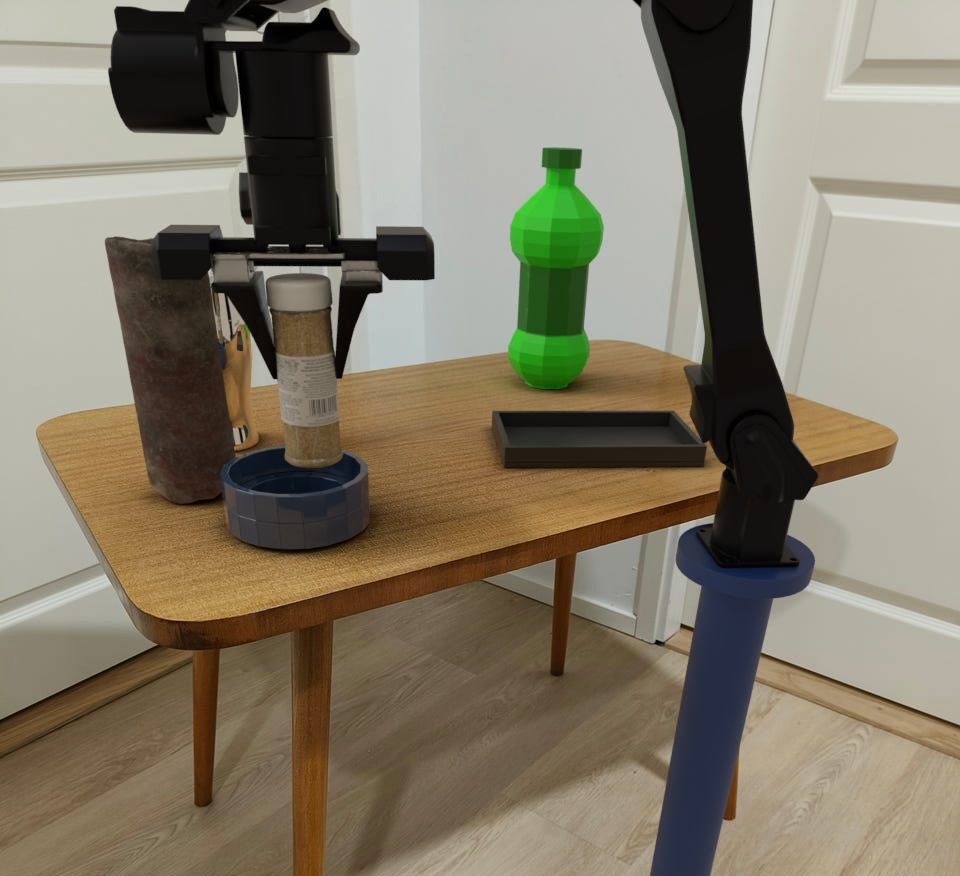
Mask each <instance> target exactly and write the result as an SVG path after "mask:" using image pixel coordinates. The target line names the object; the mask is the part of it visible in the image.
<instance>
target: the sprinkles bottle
mask: <svg viewBox="0 0 960 876" xmlns="http://www.w3.org/2000/svg"><path fill="white" fill-rule="evenodd" d="M332 291H333V290H332V281H331V279H330V278H329V277H328V276H326V275H324V274H320V273H310V272H292V273H282V274H276V275H272V276H270V277H268V278H266V280H265V292H266V299H267V304H268V309H269V314H270V316H271V324H272V328H273V336H274V345H275V357H276V364H277V379H276V381H277V392H278V399H279V400H278V401H279V410H280V418H281V422H282V429H283V438H284V446H285V449H286V452H285V460H286V461H287V462H288V463H290V464H291V465H293V466H296V467H302V468H323V467H328V466H330V465H333V464H335V463H337V462H339V461H340V460H341V459H342V457H343V452H342V450H343V449H342V446H341V432H340V405H339V394H338V393H339V392H338V391H339V390H338V379H337V377H336V366H335V354H336V350H335V347H334V338H333V326H332V325H333V324H332V310H333V308H332V305H333V292H332Z"/></svg>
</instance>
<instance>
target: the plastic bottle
mask: <svg viewBox="0 0 960 876" xmlns="http://www.w3.org/2000/svg"><path fill="white" fill-rule="evenodd" d="M541 152H542V153H541V168H544V169H545V168H546V169H545V170H546V171H545V184H544V185H542V186H541V187H540V188H539V189H538V190H537V191H536V192H535V193H533V194H532V195H531V196H530V197H529V198H528V199H527V200H526V201H525V202H524V203H523V204H522V205H521V206H520V207H519V208H518V209H517V210H516V212H514V214H513V218H512V220H511V223H510V227H509V241H510V250H511V252H512V254H514V256H515V257H516V259H517V260H518V261H519V282H518V285H519V286H518V304H517V321H516V322H517V325H516V329H515V330H514V333H513V334H512V336H511V339H510V341H509V343H508V345H507V346H508V347H507V358H508V361H509V364H510V366H511V368H512V369H513V371H514V373H516V375H518V376H519V377H520V379H522V380H523V381H525V384H526V385H527V386H529V387H530V388H536V389H540V390H559V389H564V388H567V387H568V385H569V384H571V383H572V382H573V381H574V380H576V379H577V378H578V377H579V376H580V375H581V374H582V373H583V371H584V368H585V366H586V364H587V362H588V360H589V358H590V351H591V344H590V341H589V338H588V334H587V332H586V329H585V320H586V319H585V317H586V305H587V297H588V295H587V294H588V284H589V271H590V270H589V269H590V264H591V262H592V261H594V260H595V259H596V257H597V256H598V255H599V253H600V250H601V247H602V243H603V239H604V231H605V229H604V228H605V227H604V223H603V219H602V214H601V213H600V212H599V210H598V209H597V208H596V207H595V205H594V204H593V203H592V202H591V200H590V199H589V198H588V197H587V196H586V195H585V194H584V192H582V190H581V189H580V188H579V187H578V186H577V185H576V174H577V173H576V171H577V170H579V169H582V157H583V148H575V147H555V146H554V147H542V151H541Z"/></svg>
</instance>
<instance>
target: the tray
mask: <svg viewBox="0 0 960 876" xmlns="http://www.w3.org/2000/svg"><path fill="white" fill-rule="evenodd" d="M491 431H492V434H493V438H494V441H495V443H496V447H497V450H498V453H499V456H500V459H501V462H502V465H503V468H505V469H507V468H508V469H514V468H515V469H516V468H517V469H519V468H520V469H521V468H523V469H524V468H525V469H527V468H531V469H532V468H534V469H535V468H537V469H538V468H539V469H541V468H663V467H664V468H666V467H667V468H668V467H669V468H670V467H672V468H673V467H674V468H676V467H677V468H678V467H681V468H683V467H684V468H685V467H686V468H687V467H691V468H692V467H705V461H706V454H707V449H708V448H707V447H708V446H707V444H706V443H702V441H701V439H700V437H699V435H697V434H696V433H695V432H694V431H693V430H692V429H691V427H690V426H689V424H687V423H686V422H685V421H684V420H683V419H682V418H681V417H680V415H679V414H678V413H677V412H676V411H675V410H492V412H491Z"/></svg>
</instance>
